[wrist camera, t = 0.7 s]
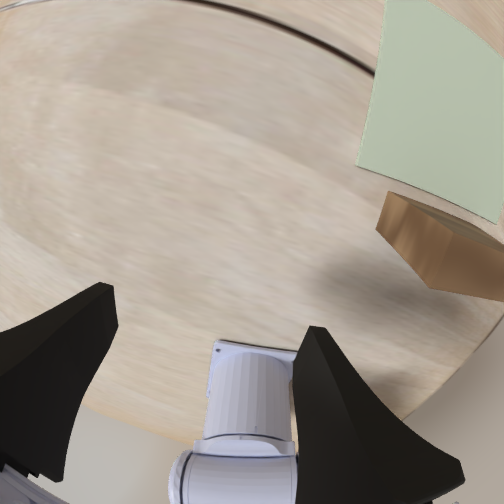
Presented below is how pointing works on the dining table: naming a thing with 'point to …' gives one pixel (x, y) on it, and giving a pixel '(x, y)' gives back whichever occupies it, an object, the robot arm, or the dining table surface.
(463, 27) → the mat
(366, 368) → the dining table surface
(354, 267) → the dining table surface
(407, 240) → the slab
